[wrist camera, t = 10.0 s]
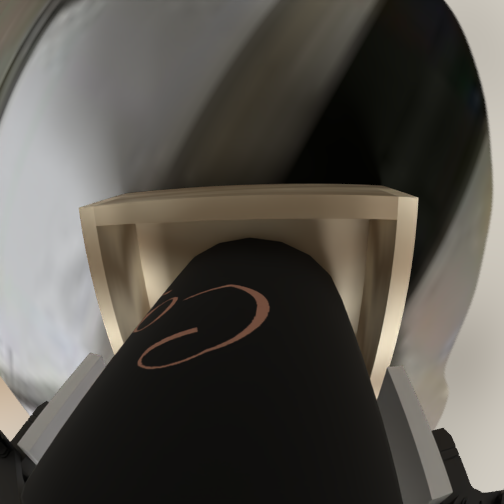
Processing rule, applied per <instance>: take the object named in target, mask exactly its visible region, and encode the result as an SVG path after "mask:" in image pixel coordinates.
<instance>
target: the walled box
mask: <svg viewBox="0 0 504 504" xmlns="http://www.w3.org/2000/svg"><path fill="white" fill-rule="evenodd" d="M417 209H418V197H415V196H412V195H409V194H406V193H403V192H400V191H397V190H394V189H391V188H388V187H385V186H381V185H355V184H256V185H229V186H210V187H193V188H179V189H167V190H155V191H144V192H134V193H125V194H122V195H118V196H115V197H112V198H108V199H105V200H102V201H99V202H96V203H92V204H89V205H86V206H83V207H80V208H79V213H80V219H81V226H82V232H83V238H84V243H85V248H86V254H87V258H88V263H89V268H90V272H91V277H92V281H93V285H94V289H95V293H96V297H97V300H98V304H99V308H100V311H101V315H102V318H103V321H104V325H105V328H106V331H107V334H108V337H109V340H110V343H111V346H112V349H113V352H114V355H115V354H116V353H117V351H118V350H119V349H120V347H121V346H122V345H123V344H124V342H125V341H126V340H127V338H128V337H129V336H130V335H131V333H132V332H133V331H134V329H135V328H136V327H137V326H138V324H139V323H140V322H141V321H142V319H143V318H144V317H145V316H146V314H147V313H148V312H149V311H150V309H151V308H152V307H153V306H154V304H155V303H156V302H157V301H158V299H159V298H160V297H161V296H162V294H163V293H164V292H165V291H166V290H167V288H168V287H169V286H170V285H171V283H172V282H173V281H174V280H175V279H176V277H177V276H178V275H179V274H180V273H181V272H182V270H183V269H184V268H185V267H186V266H187V265H188V263H189V262H190V261H191V260H192V259H193V258H194V257H195V256H197V255H198V254H200V253H202V252H204V251H206V250H207V249H209V248H211V247H213V246H215V245H216V244H218V243H222V242H227V241H233V240H239V239H244V238H257V239H265V240H272V241H280V242H283V243H285V244H287V245H289V246H292V247H294V248H296V249H298V250H300V251H302V252H304V253H306V254H308V255H310V256H311V257H312V258H313V259H314V260H315V261H316V262H317V263H318V264H319V265H320V266H322V267H323V268H324V269H325V270H326V271H327V272H328V273H329V274H330V275H331V277H332V279H333V281H334V284H335V286H336V288H337V290H338V292H339V294H340V296H341V298H342V301H343V303H344V306H345V309H346V311H347V314H348V317H349V319H350V322H351V325H352V328H353V330H354V333H355V336H356V339H357V342H358V345H359V347H360V350H361V353H362V356H363V359H364V362H365V365H366V368H367V371H368V374H369V377H370V380H371V384H372V387H373V390H374V393H375V396H376V400H377V398H378V395H379V392H380V389H381V386H382V383H383V379H384V376H385V373H386V370H387V367H389V366H390V363H391V359H392V356H393V352H394V348H395V344H396V340H397V336H398V332H399V328H400V324H401V319H402V315H403V310H404V305H405V300H406V295H407V290H408V284H409V278H410V272H411V265H412V258H413V250H414V242H415V233H416V222H417Z"/></svg>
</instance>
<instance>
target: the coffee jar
mask: <svg viewBox="0 0 504 504" xmlns="http://www.w3.org/2000/svg"><path fill="white" fill-rule="evenodd" d="M21 501H22V504H403V500H402V495H401V491H400V486H399V482H398V477H397V473H396V469H395V465H394V461H393V457H392V453H391V449H390V445H389V442H388V438H387V434H386V431H385V427H384V423H383V420H382V416H381V413H380V410H379V406H378V403H377V400H376V396H375V393H374V390H373V387H372V384H371V380H370V377H369V374H368V371H367V368H366V365H365V362H364V359H363V356H362V353H361V350H360V347H359V345H358V342H357V339H356V336H355V333H354V330H353V328H352V325H351V322H350V319H349V317H348V314H347V311H346V309H345V306H344V303H343V301H342V298H341V296H340V294H339V292H338V290H337V288H336V286H335V284H334V281H333V279H332V277H331V275H330V274H329V273H328V272H327V271H326V270H325V269H324V268H323V267H322V266H320V265H319V264H318V263H317V262H316V261H315V260H314V259H313V258H312V257H311V256H310V255H308V254H306V253H304V252H302V251H300V250H298V249H296V248H294V247H292V246H289V245H287V244H285V243H283V242H280V241H272V240H265V239H257V238H244V239H239V240H233V241H227V242H222V243H218V244H216V245H215V246H213V247H211V248H209V249H207V250H206V251H204V252H202V253H200V254H198V255H197V256H195V257H194V258H193V259H192V260H191V261H190V262H189V263H188V265H187V266H186V267H185V268H184V269H183V270H182V272H181V273H180V274H179V275H178V276H177V277H176V279H175V280H174V281H173V282H172V283H171V285H170V286H169V287H168V288H167V290H166V291H165V292H164V293H163V294H162V296H161V297H160V298H159V299H158V301H157V302H156V303H155V304H154V306H153V307H152V308H151V309H150V311H149V312H148V313H147V314H146V316H145V317H144V318H143V319H142V321H141V322H140V323H139V324H138V326H137V327H136V328H135V329H134V331H133V332H132V333H131V335H130V336H129V337H128V338H127V340H126V341H125V342H124V344H123V345H122V346H121V347H120V349H119V350H118V351H117V353H116V354H115V355H114V357H113V358H112V359H111V361H110V362H109V363H108V365H107V366H106V367H105V368H104V370H103V371H102V372H101V374H100V375H99V377H98V378H97V379H96V381H95V382H94V383H93V385H92V386H91V387H90V389H89V390H88V391H87V393H86V394H85V396H84V397H83V398H82V400H81V401H80V402H79V404H78V405H77V407H76V408H75V409H74V411H73V412H72V414H71V415H70V417H69V418H68V419H67V421H66V422H65V424H64V425H63V427H62V428H61V429H60V431H59V432H58V434H57V435H56V437H55V438H54V440H53V441H52V443H51V444H50V446H49V447H48V449H47V450H46V452H45V453H44V455H43V456H42V458H41V459H40V461H39V462H38V464H37V465H36V467H35V468H34V470H33V471H32V473H31V475H30V476H29V478H28V479H27V481H26V483H25V484H24V486H23V489H22V493H21Z"/></svg>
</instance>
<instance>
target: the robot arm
mask: <svg viewBox="0 0 504 504" xmlns="http://www.w3.org/2000/svg"><path fill="white" fill-rule="evenodd" d="M105 367H106V365H105V363H104V360H103V358H102V355H98V354H93V353H89V355H88V356H87V357H86V358H85V359H84V360H83V362H82V363H81V364H80V365H79V366H78V368H77V369H76V370H75V371H74V372H73V374H72V375H71V376H70V377H69V378H68V380H67V381H66V382H65V383H64V384H63V386H62V387H61V388H60V389H59V391H58V392H57V393H56V394H55V396H54V397H53V398H52V399H51V401H50V402H47V401H46V402H44V403H43V404H41V405H40V406H38V407H37V409H36V410H35V411H34V412H33V415H31V416H30V418H29V419H28V421H26V423H25V424H24V425H23V427H22V428H21V429H20V431H19V432H18V433H17V434H16V436H15V437H14V438H13V440H12V441H11V442H10V441H9V440H8V439H7V438H6V436H5V435H4V434H3V433H2V432H1V430H0V504H22V501H21V493H22V489H23V486H24V484H25V483H26V481H27V479H28V478H29V476H30V475H31V473H32V471H33V470H34V468H35V467H36V465H37V464H38V462H39V461H40V459H41V458H42V456H43V455H44V453H45V452H46V450H47V449H48V447H49V446H50V444H51V443H52V441H53V440H54V438H55V437H56V435H57V434H58V432H59V431H60V429H61V428H62V427H63V425H64V424H65V422H66V421H67V419H68V418H69V417H70V415H71V414H72V412H73V411H74V409H75V408H76V407H77V405H78V404H79V402H80V401H81V400H82V398H83V397H84V396H85V394H86V393H87V391H88V390H89V389H90V387H91V386H92V385H93V383H94V382H95V381H96V379H97V378H98V377H99V375H100V374H101V372H102V371H103V370H104V368H105ZM377 403H378V406H379V410H380V413H381V416H382V420H383V423H384V427H385V431H386V434H387V438H388V442H389V445H390V449H391V453H392V457H393V461H394V465H395V469H396V473H397V477H398V482H399V486H400V491H401V495H402V500H403V504H504V490H501V491H495V492H488V493H482V492H480V491H478V490H476V489H474V488H473V487H472V486H471V484H470V482H469V479H468V476H467V474H466V471H465V468H464V466H463V463H462V461H461V458H460V456H459V453H458V451H457V449H456V448H455V443H454V441H453V439H452V436H451V435H450V434H449V433H448V432H447V431H446V430H445V429H444V428H441V429H437V430H433V431H431V429H430V426H429V424H428V421H427V419H426V417H425V414H424V412H423V409H422V407H421V405H420V402H419V400H418V398H417V396H416V393H415V391H414V389H413V387H412V384H411V382H410V380H409V378H408V376H407V373H406V371H405V369H404V367H403V365H402V366H394V367H387V370H386V373H385V376H384V379H383V383H382V386H381V389H380V392H379V395H378V398H377Z"/></svg>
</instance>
